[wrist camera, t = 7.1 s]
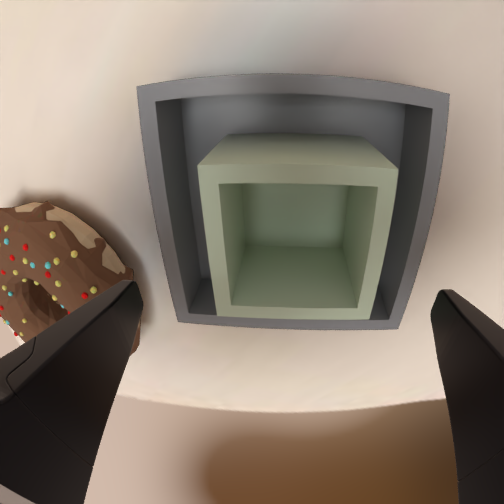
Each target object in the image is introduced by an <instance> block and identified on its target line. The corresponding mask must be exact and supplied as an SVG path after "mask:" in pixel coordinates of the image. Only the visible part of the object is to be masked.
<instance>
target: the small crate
mask: <svg viewBox="0 0 504 504" xmlns="http://www.w3.org/2000/svg"><path fill="white" fill-rule="evenodd" d="M197 168H198V178H199V186H200V195H201V204H202V212H203V220H204V228H205V235H206V243H207V250H208V258H209V265H210V272H211V279H212V285H213V292H214V299H215V305H216V312H217V316H225V317H245V318H269V319H308V320H368V319H369V318H370V314H371V311H372V307H373V303H374V299H375V295H376V291H377V287H378V283H379V279H380V274H381V270H382V265H383V261H384V256H385V251H386V246H387V241H388V236H389V230H390V224H391V219H392V213H393V206H394V200H395V193H396V186H397V178H398V170H399V169H398V168H397V167H396V166H394V165H393V164H392V163H391V162H390V161H389V160H388V159H387V158H386V157H385V156H384V155H383V154H382V153H380V152H379V151H378V150H377V149H376V148H375V147H374V146H373V145H372V144H370V143H369V142H368V141H367V140H366V139H365V138H363V137H362V136H348V135H330V134H300V133H254V134H227V135H226V136H225V137H224V138H223V139H222V140H221V141H220V142H219V143H218V144H217V145H216V146H215V147H214V148H213V149H212V150H211V151H210V153H209V154H208V155H207V156H206V157H205V158H204V159H203V160H202V161H201V162H200V163H199V164H198V165H197Z"/></svg>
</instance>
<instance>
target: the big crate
mask: <svg viewBox="0 0 504 504" xmlns="http://www.w3.org/2000/svg"><path fill="white" fill-rule="evenodd" d="M449 96H450V94H447V93H443V92H439V91H435V90H430V89H425V88H420V87H415V86H410V85H404V84H398V83H392V82H385V81H378V80H371V79H362V78H353V77H343V76H330V75H313V74H240V75H223V76H210V77H199V78H190V79H181V80H173V81H166V82H159V83H153V84H147V85H141V86H137V97H138V107H139V116H140V125H141V133H142V141H143V148H144V156H145V163H146V169H147V176H148V182H149V188H150V194H151V200H152V206H153V211H154V217H155V222H156V227H157V232H158V237H159V242H160V247H161V252H162V257H163V261H164V266H165V270H166V275H167V279H168V284H169V288H170V292H171V296H172V300H173V304H174V308H175V312H176V316H177V320H178V322H183V323H194V324H206V325H219V326H234V327H251V328H271V329H300V330H388V329H398V328H399V325H400V322H401V320H402V317H403V314H404V311H405V309H406V306H407V303H408V300H409V297H410V294H411V291H412V288H413V285H414V282H415V278H416V275H417V272H418V268H419V265H420V262H421V258H422V255H423V251H424V247H425V243H426V240H427V236H428V232H429V228H430V223H431V219H432V215H433V210H434V206H435V201H436V196H437V191H438V185H439V180H440V174H441V168H442V162H443V155H444V148H445V140H446V131H447V122H448V111H449ZM254 133H300V134H330V135H348V136H362V137H363V138H365V139H366V140H367V141H368V142H369V143H370V144H372V145H373V146H374V147H375V148H376V149H377V150H378V151H379V152H380V153H382V154H383V155H384V156H385V157H386V158H387V159H388V160H389V161H390V162H391V163H392V164H393V165H394V166H396V167H397V168H398V169H399V170H398V178H397V186H396V193H395V200H394V206H393V213H392V219H391V224H390V230H389V236H388V241H387V246H386V251H385V256H384V261H383V265H382V270H381V274H380V279H379V283H378V287H377V291H376V295H375V299H374V303H373V307H372V311H371V314H370V318H369V319H368V320H308V319H269V318H245V317H225V316H217V312H216V305H215V299H214V292H213V285H212V279H211V272H210V265H209V258H208V250H207V243H206V235H205V228H204V220H203V212H202V204H201V195H200V186H199V178H198V168H197V165H198V164H199V163H200V162H201V161H202V160H203V159H204V158H205V157H206V156H207V155H208V154H209V153H210V151H211V150H212V149H213V148H214V147H215V146H216V145H217V144H218V143H219V142H220V141H221V140H222V139H223V138H224V137H225V136H226V135H227V134H254Z"/></svg>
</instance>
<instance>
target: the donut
mask: <svg viewBox="0 0 504 504" xmlns="http://www.w3.org/2000/svg"><path fill="white" fill-rule="evenodd" d="M122 280H133V270H132V269H131V268H129V267H127V266H125V265H124V264H123V263H122V262H121V261H120V259H119V258H118V256H117V254H116V253H115V251H114V250H113V249H112V248H111V247H110V246H109V245H108V244H107V243H106V242H105V239H104V238H102V237H101V236H100V235H99V234H98V233H97V232H96V231H95V230H94V229H93V228H91V227H90V226H89V225H87V224H86V223H84V222H83V221H82V220H80V219H79V218H78V217H76V216H75V215H74V214H72V213H70V212H68V211H65V210H63V209H61V208H59V207H56V206H54V205H52V204H51V203H49V202H48V201H46V202H45V203H36V202H32V203H29V204H25V205H22V206H18V207H12V208H0V317H2V318H3V319H4V320H3V322H4V323H6V324H8V325H9V326H10V327H11V328H12V329H13V330H14V331H15V332H14V335H15V336H18V335H19V336H20V337H21V339H22V340H23V341H24V342H25V343H26V342H27V341H29V340H30V339H31V338H33V337H34V336H37V335H38V334H39V333H41V332H42V331H44V330H45V329H47V328H48V327H50V326H51V325H53V324H54V323H56V322H57V321H59V320H60V319H62V318H63V317H65V316H66V315H68V314H70V313H71V312H73V311H74V310H76V309H77V308H79V307H80V306H82V305H84V304H85V303H87V302H88V301H90V300H91V299H93V298H95V297H96V296H98V295H99V294H101V293H103V292H104V291H106V290H107V289H109V288H111V287H112V286H114V285H115V284H117V283H119V282H120V281H122ZM140 321H141V319H140ZM140 321H139V324H138V328H137V332H136V336H135V340H134V344H133V347H132V351H131V353H130V355H131V354H132V353H134V352H135V351H136V349H137V348H138V346H139V342H140ZM129 357H130V356H129Z"/></svg>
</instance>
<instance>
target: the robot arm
mask: <svg viewBox="0 0 504 504" xmlns="http://www.w3.org/2000/svg"><path fill="white" fill-rule="evenodd" d="M142 310H143V301H142V298H141V294H140V291H139V288H138V285H137V283H136V282H135V281H133V280H122V281H120V282H119V283H117V284H115V285H114V286H112V287H111V288H109V289H107V290H106V291H104V292H103V293H101V294H99V295H98V296H96V297H95V298H93V299H91V300H90V301H88V302H87V303H85V304H84V305H82V306H80V307H79V308H77V309H76V310H74V311H73V312H71V313H70V314H68V315H66V316H65V317H63V318H62V319H60V320H59V321H57V322H56V323H54V324H53V325H51V326H50V327H48V328H47V329H45V330H44V331H42V332H41V333H39V334H38V335H37V336H34V337H33V338H31V339H30V340H29V341H27V342H26V343H24V344H23V345H21V346H19V347H18V348H17V349H15V350H13V351H12V352H10V353H8V354H7V355H5V356H3V357H2V358H0V504H84V500H85V496H86V492H87V488H88V485H89V481H90V477H91V473H92V469H93V467H92V466H94V462H95V459H96V455H97V452H98V448H99V445H100V442H101V438H102V435H103V432H104V429H105V426H106V422H107V419H108V416H109V413H110V410H111V407H112V404H113V401H114V398H115V395H116V393H117V390H118V387H119V384H120V381H121V378H122V376H123V373H124V370H125V367H126V365H127V362H128V359H129V356H130V353H131V351H132V347H133V344H134V340H135V336H136V332H137V328H138V324H139V321H140V317H141V314H142ZM431 323H432V328H433V334H434V340H435V346H436V353H437V359H438V364H439V368H440V373H441V377H442V381H443V386H444V390H445V395H446V400H447V405H448V410H449V416H450V422H451V429H452V434H453V442H454V450H455V458H456V468H457V479H458V497H459V504H504V329H503V328H501V327H500V326H499V325H498V324H496V323H495V322H494V321H493V320H491V319H490V318H489V317H488V316H486V315H485V314H484V313H483V312H481V311H480V310H479V309H477V308H476V307H475V306H473V305H472V304H471V303H470V302H468V301H467V300H466V299H464V298H463V297H462V296H460V295H459V294H457V293H456V292H455V291H453V290H451V289H444V290H440V291H439V292H438V294H437V297H436V300H435V302H434V305H433V307H432V310H431Z"/></svg>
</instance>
